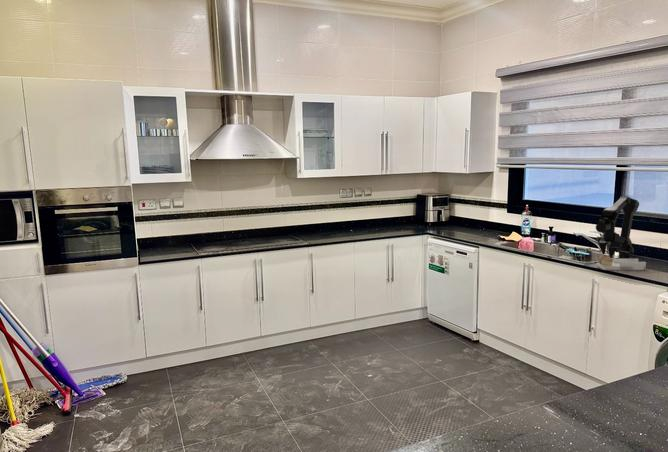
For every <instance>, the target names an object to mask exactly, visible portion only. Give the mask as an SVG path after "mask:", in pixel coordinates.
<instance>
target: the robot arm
mask: <svg viewBox="0 0 668 452" xmlns="http://www.w3.org/2000/svg"><path fill="white" fill-rule="evenodd" d="M639 206H640V202H639V201H638V200H637V199H634V198H631V197H630V196H623V195H622V196H620V197H619V198H618V200H617V201H616V202H614V204H612V206H608V207H606V208H604V209H603V211H602V213H600V217H599V219H598V221H599V222H598V223H596V224H595V230H596V231H597V232H598V233H601V234H602V236H597V237H595V242H596V244H597V245H598V248H599V250H600V251H601V254H602V255H605V254H606V250H607V252H608V255H609V256H610V258H612V257H614V254H615V253H618V256H617V257H618V258H617V259H630V255H634V252H635V250H634V247H633V246H632V244H633V243H632V240H631V238H630V236H631V230H632V225H633V219H634V215H635V213H636V212H637V211H638V210H639V209H638V208H639ZM621 210H622V211H623V218H622V219H623V220H622V224H621V232H620V234H619V233H617V232H616V223H617V219H618V217H619V214H620V213H619V212H620V211H621Z"/></svg>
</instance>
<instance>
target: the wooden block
mask: <svg viewBox="0 0 668 452" xmlns="http://www.w3.org/2000/svg"><path fill="white" fill-rule="evenodd" d="M613 257H614V256H613ZM613 257H612V258H610V256H609V254H607V255H605V254H602V255H599V259H598V261H599V262H598V263H599V264H601V265H603V266H612V263H613V259H614V258H613Z"/></svg>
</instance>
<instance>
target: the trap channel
mask: <svg viewBox="0 0 668 452" xmlns="http://www.w3.org/2000/svg"><path fill="white" fill-rule="evenodd" d="M646 264H647V262H646V261H639V258H629V259H618V258H613V259H612V266H603V265H601V264H599V262H596V267H598V268H600V269H602V270H603V271H607V270H608V271H615V270H616V271H620V270H621V271H628V270H629V271H631V270H632V271H633V270H634V271H639V270H640V271H646V268H647V267H646V266H647V265H646Z"/></svg>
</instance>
